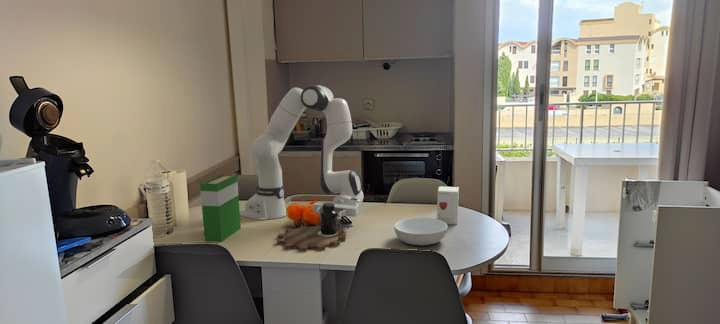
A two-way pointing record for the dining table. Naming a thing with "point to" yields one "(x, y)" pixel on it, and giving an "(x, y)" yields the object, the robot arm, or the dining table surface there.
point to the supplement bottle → (328, 219)
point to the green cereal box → (220, 207)
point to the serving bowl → (420, 230)
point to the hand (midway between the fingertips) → (327, 213)
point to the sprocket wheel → (309, 238)
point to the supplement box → (448, 204)
